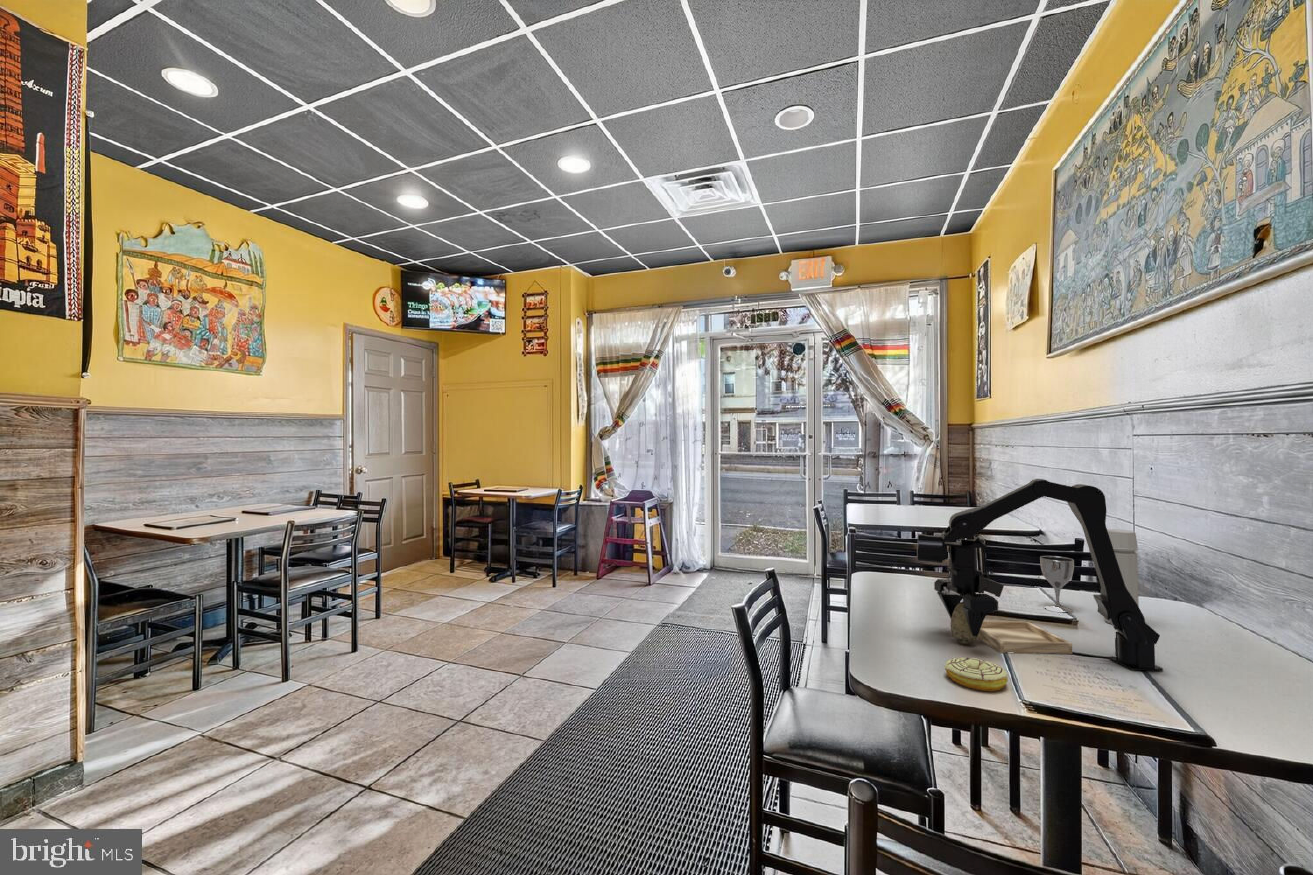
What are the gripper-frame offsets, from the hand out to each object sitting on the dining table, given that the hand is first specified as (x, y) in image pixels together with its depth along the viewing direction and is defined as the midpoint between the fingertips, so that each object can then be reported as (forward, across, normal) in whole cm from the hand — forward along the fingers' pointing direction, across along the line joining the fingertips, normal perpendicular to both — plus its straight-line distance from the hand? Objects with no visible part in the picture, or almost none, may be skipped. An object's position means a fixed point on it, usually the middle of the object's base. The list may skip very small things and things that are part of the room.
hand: (964, 629), depth 130 cm
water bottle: (+4, +18, -50) cm, 53 cm away
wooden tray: (+3, +2, -13) cm, 14 cm away
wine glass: (+4, +30, -42) cm, 52 cm away
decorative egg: (+4, 0, 0) cm, 4 cm away
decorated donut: (+4, -22, +9) cm, 24 cm away
